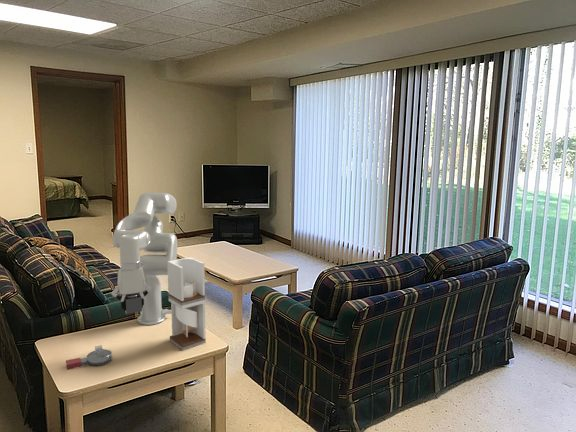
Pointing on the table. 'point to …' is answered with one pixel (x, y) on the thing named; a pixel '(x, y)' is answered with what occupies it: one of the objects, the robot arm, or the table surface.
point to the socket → (133, 303)
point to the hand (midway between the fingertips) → (132, 308)
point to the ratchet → (91, 359)
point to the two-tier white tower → (187, 302)
